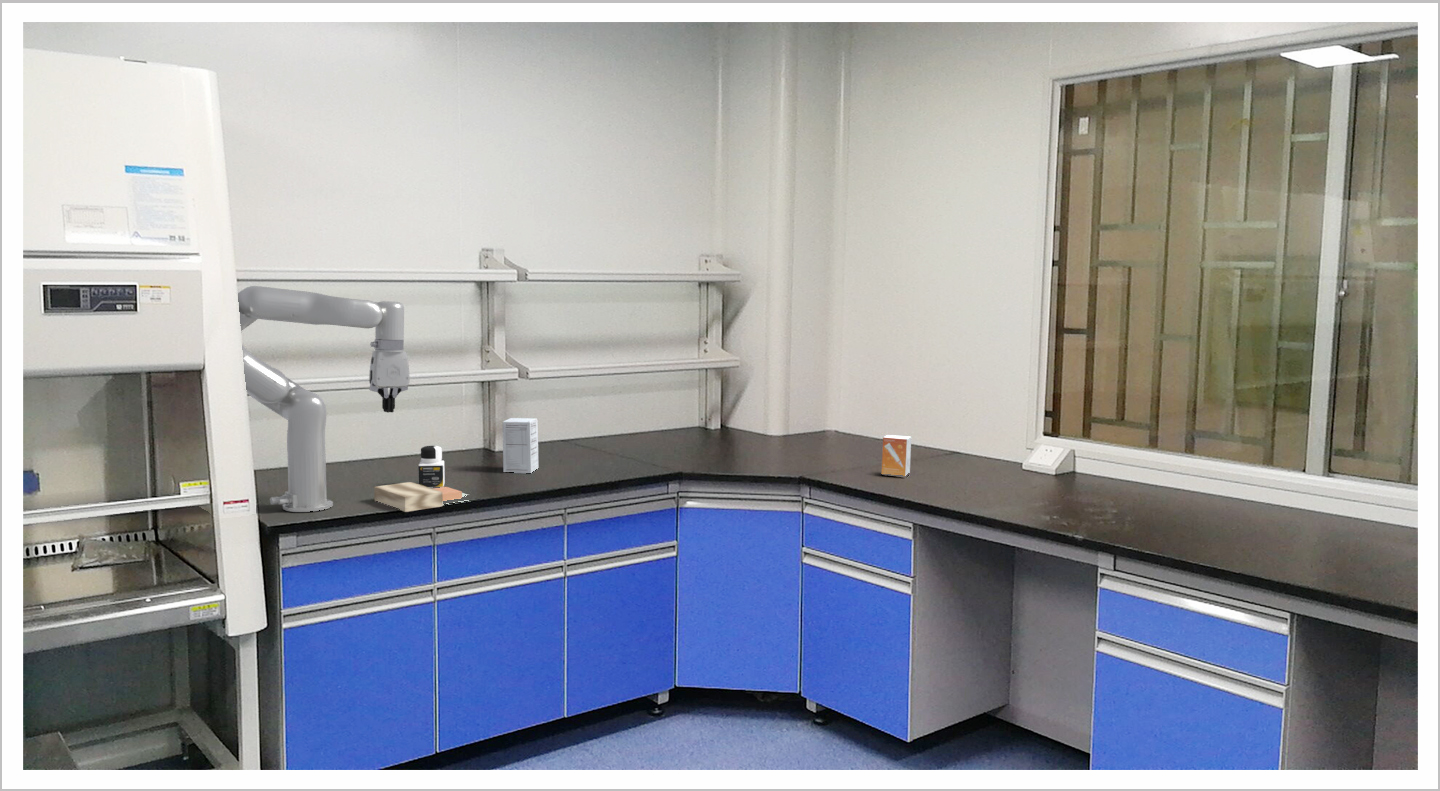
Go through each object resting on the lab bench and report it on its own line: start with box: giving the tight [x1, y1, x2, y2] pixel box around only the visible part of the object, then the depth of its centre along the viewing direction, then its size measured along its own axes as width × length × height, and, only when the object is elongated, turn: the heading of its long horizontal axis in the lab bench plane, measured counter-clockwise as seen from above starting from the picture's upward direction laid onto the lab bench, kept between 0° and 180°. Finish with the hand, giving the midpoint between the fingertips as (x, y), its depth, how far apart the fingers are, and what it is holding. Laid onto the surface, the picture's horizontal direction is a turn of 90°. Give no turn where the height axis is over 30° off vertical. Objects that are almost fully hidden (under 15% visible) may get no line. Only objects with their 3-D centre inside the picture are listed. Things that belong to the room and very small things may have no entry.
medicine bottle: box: [417, 445, 446, 489], centre depth 319 cm, size 7×7×12 cm
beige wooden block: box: [373, 481, 444, 513], centre depth 295 cm, size 11×18×4 cm, turn 44°
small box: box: [880, 434, 912, 476], centre depth 347 cm, size 8×6×13 cm
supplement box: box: [502, 417, 539, 474], centre depth 345 cm, size 10×9×17 cm
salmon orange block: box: [432, 486, 463, 501], centre depth 302 cm, size 9×6×2 cm, turn 43°
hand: (388, 411), depth 297 cm, fingers closed
